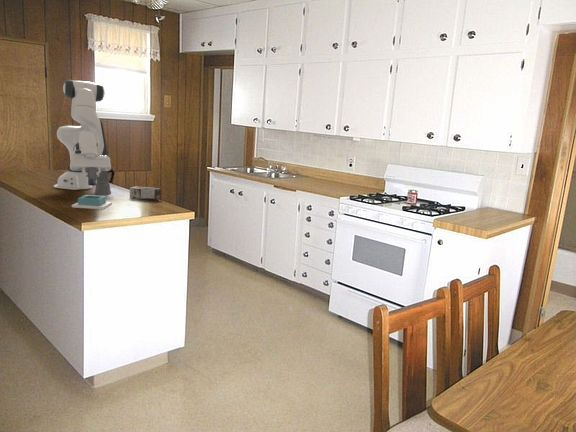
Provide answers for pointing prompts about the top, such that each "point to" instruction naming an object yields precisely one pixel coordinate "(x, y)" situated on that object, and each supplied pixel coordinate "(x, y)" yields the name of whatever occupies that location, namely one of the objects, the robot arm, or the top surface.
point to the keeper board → (92, 202)
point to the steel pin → (91, 176)
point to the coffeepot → (104, 182)
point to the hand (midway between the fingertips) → (92, 176)
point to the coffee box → (145, 193)
